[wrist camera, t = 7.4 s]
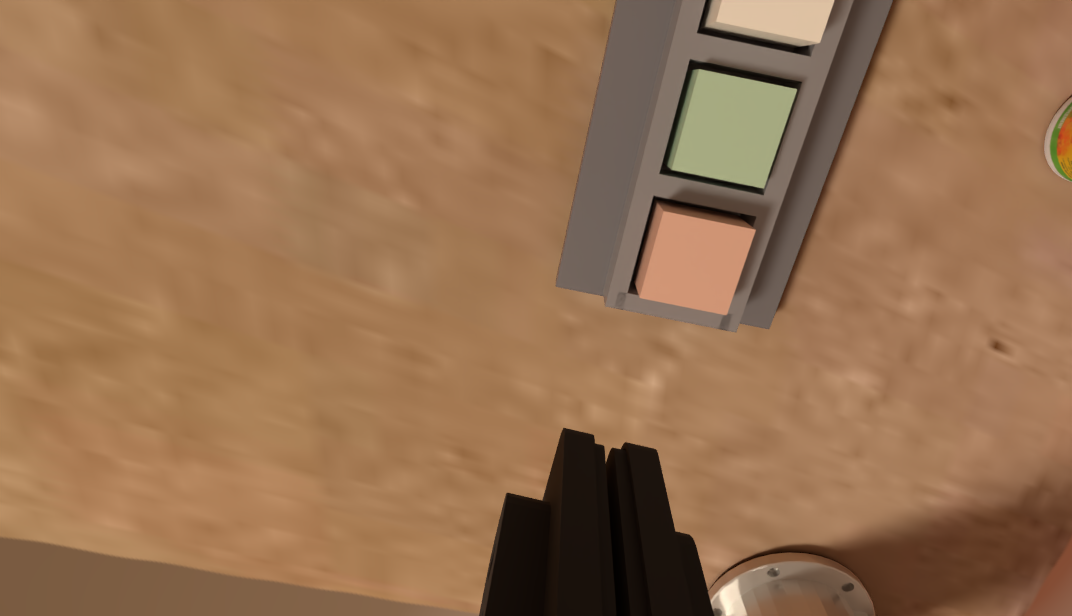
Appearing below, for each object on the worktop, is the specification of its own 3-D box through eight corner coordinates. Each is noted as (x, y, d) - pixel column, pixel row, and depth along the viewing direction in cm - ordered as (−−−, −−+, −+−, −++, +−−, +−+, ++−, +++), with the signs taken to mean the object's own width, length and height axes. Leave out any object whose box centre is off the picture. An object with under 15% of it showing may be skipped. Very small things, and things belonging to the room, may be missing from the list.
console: (905, -72, 27) (957, -97, 24) (761, 319, 35) (783, 347, 31) (643, -127, 27) (654, -161, 23) (556, 278, 35) (554, 301, 31)
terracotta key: (738, 215, 30) (756, 229, 27) (712, 294, 32) (726, 315, 29) (654, 199, 30) (663, 211, 27) (633, 278, 32) (639, 298, 29)
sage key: (774, 89, 29) (797, 89, 26) (745, 178, 31) (763, 188, 28) (686, 71, 29) (699, 69, 26) (662, 161, 30) (671, 169, 27)
